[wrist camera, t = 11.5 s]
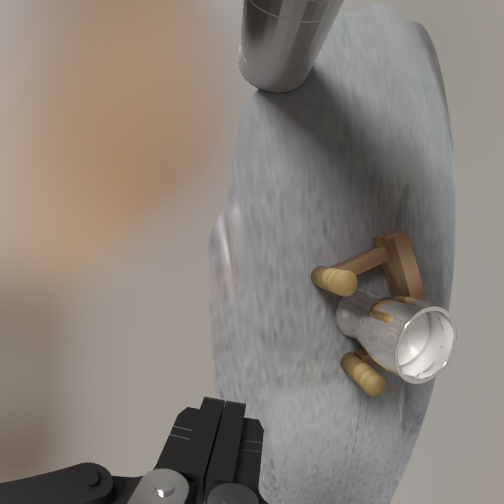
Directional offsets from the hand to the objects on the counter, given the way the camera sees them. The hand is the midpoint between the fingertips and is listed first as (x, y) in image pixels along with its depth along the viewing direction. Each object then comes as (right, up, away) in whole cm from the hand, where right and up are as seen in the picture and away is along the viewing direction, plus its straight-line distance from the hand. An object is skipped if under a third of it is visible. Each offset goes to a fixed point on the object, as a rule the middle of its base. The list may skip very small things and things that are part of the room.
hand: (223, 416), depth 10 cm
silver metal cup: (+14, -2, +26) cm, 29 cm away
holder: (+14, -1, +26) cm, 30 cm away
